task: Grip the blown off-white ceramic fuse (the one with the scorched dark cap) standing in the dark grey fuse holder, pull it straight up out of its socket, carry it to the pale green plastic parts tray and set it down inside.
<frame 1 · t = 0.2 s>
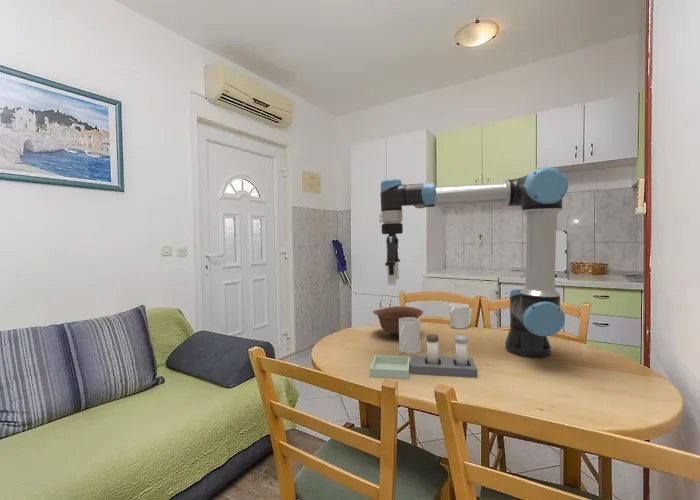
hand: (393, 281, 125), 28 cm above the table, fingers open, 13 cm apart
fuse holder: (442, 370, 112), on the table
mug 2: (458, 327, 162), on the table
bowl: (398, 335, 152), on the table
mug: (407, 352, 131), on the table
parts tray: (390, 371, 112), on the table
blown fuse: (433, 368, 112), resting on fuse holder
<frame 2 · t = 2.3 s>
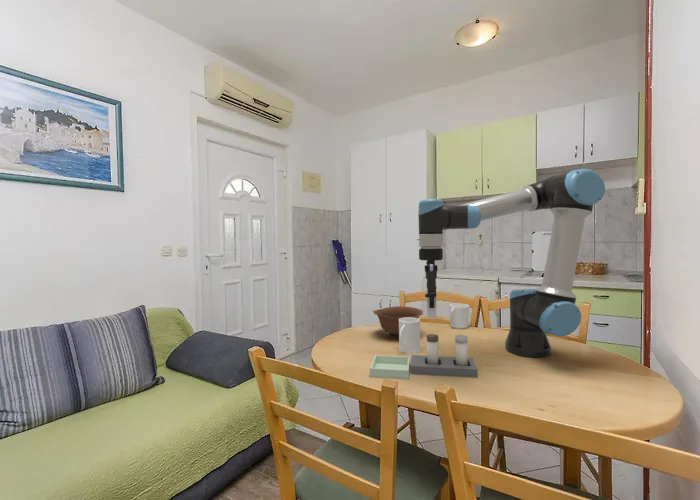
hand: (431, 313, 112), 19 cm above the table, fingers open, 13 cm apart
nothing on the table moved.
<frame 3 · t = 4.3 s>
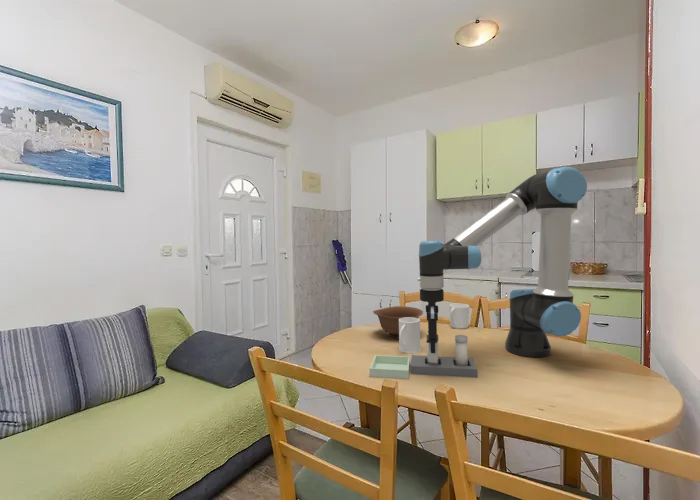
hand: (432, 359, 112), 4 cm above the table, fingers closed on blown fuse, 4 cm apart
blown fuse: (433, 368, 112), resting on fuse holder, touching gripper
everything else where it was.
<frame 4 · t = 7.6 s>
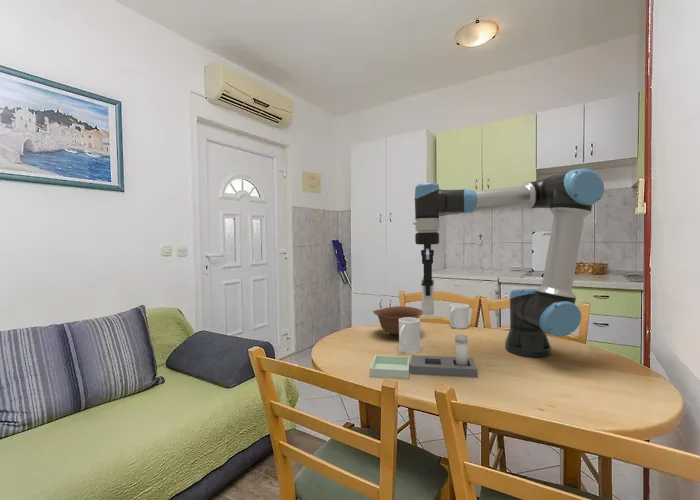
hand: (427, 304, 111), 22 cm above the table, fingers closed on blown fuse, 4 cm apart
blown fuse: (428, 313, 111), point 19 cm above the table, touching gripper
everything else where it was.
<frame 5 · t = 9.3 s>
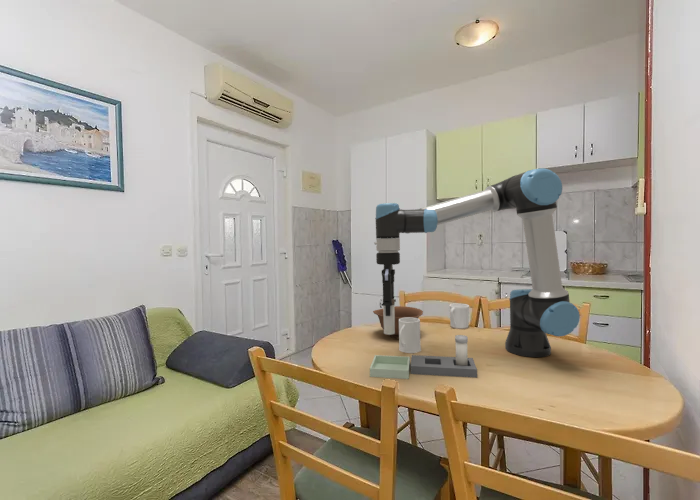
hand: (389, 323, 112), 16 cm above the table, fingers closed on blown fuse, 4 cm apart
blown fuse: (389, 332, 112), point 13 cm above the table, touching gripper
everything else where it was.
when the fingers open (6 cm above the table, at t = 10.9 s): blown fuse drops 2 cm, resting on parts tray.
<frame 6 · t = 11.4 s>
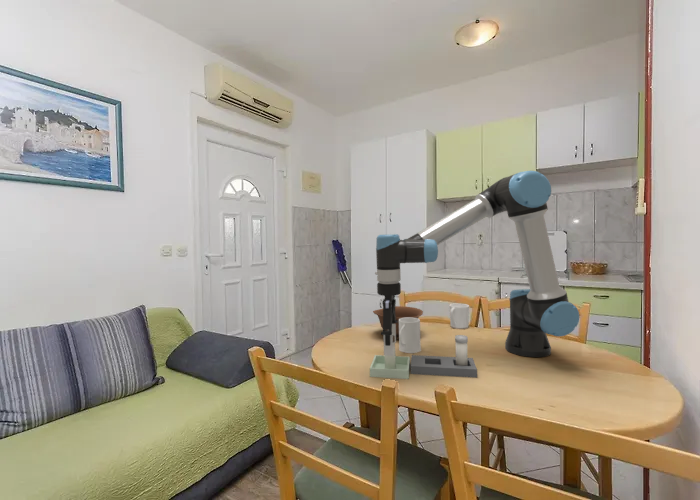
hand: (390, 348, 112), 8 cm above the table, fingers open, 11 cm apart
blown fuse: (390, 369, 112), point 1 cm above the table, touching parts tray
everything else where it was.
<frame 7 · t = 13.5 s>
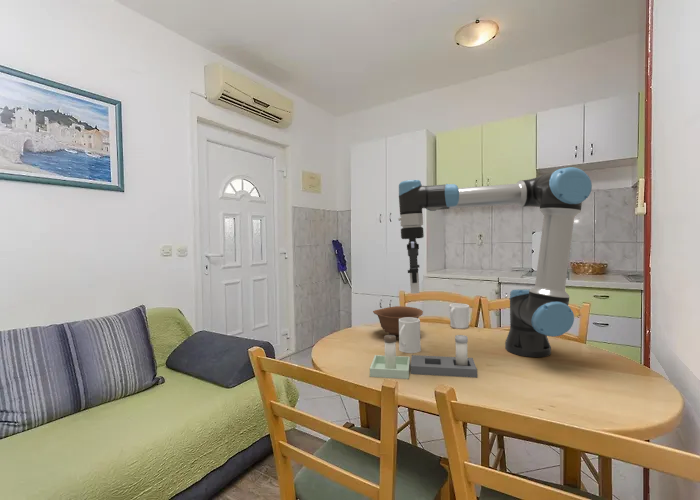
hand: (415, 289, 117), 26 cm above the table, fingers open, 13 cm apart
nothing on the table moved.
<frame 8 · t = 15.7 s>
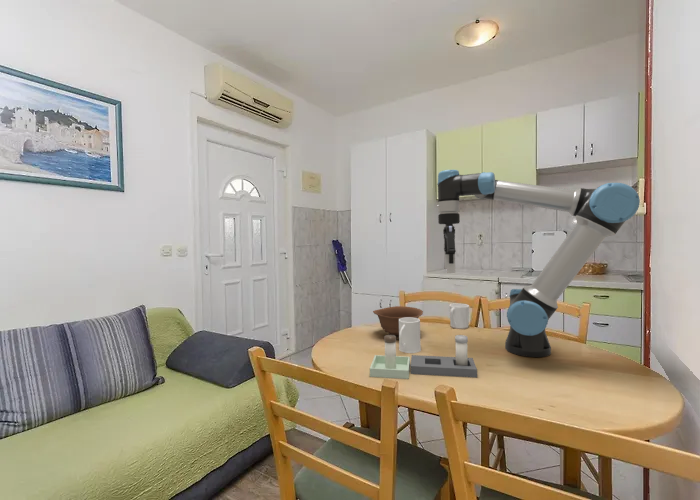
hand: (449, 270, 127), 31 cm above the table, fingers open, 13 cm apart
nothing on the table moved.
at the end: blown fuse inside the target area on the parts tray (0.1 cm from its centre), point 0.6 cm above the parts tray's base; the gripper is holding nothing; blown fuse moved 13.8 cm from its start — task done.
